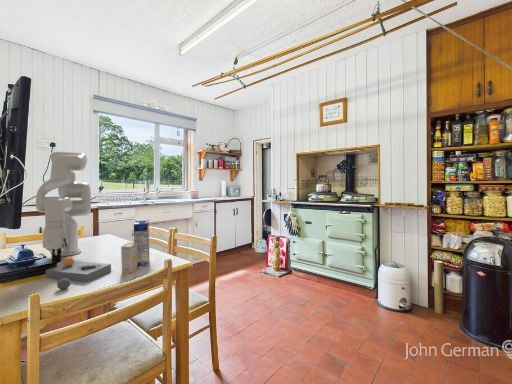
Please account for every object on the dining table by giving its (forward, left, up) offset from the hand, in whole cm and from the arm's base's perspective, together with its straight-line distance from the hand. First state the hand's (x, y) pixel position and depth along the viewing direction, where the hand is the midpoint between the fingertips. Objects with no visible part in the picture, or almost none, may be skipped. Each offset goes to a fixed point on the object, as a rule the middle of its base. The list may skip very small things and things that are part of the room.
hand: (56, 262), depth 126 cm
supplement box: (+32, +10, -5) cm, 34 cm away
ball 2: (+21, -15, -3) cm, 26 cm away
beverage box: (+31, +21, -5) cm, 38 cm away
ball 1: (+7, 0, +1) cm, 7 cm away
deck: (+13, 0, -5) cm, 14 cm away
